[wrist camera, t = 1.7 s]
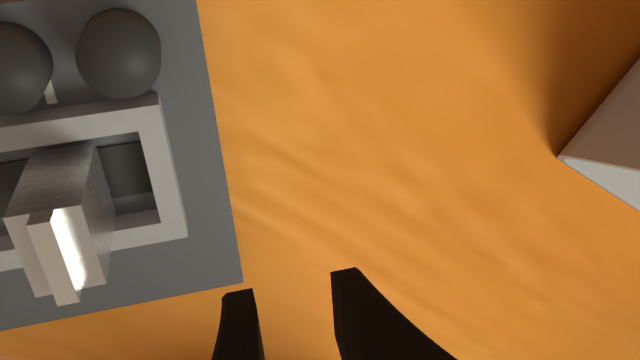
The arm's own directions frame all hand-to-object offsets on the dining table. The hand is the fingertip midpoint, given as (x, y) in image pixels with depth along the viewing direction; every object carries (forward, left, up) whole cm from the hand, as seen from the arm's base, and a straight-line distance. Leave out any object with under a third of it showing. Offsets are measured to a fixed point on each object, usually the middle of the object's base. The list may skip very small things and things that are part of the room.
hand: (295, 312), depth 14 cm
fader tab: (0, +6, -8) cm, 10 cm away
